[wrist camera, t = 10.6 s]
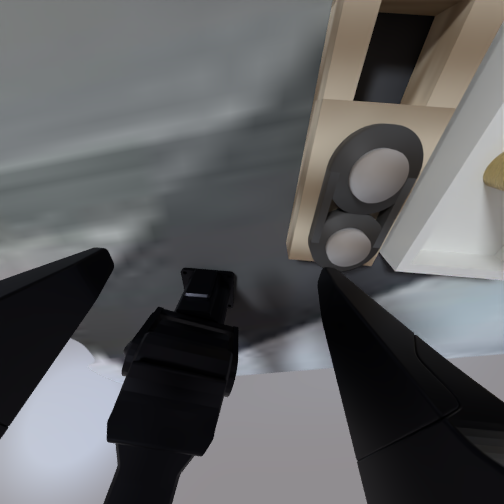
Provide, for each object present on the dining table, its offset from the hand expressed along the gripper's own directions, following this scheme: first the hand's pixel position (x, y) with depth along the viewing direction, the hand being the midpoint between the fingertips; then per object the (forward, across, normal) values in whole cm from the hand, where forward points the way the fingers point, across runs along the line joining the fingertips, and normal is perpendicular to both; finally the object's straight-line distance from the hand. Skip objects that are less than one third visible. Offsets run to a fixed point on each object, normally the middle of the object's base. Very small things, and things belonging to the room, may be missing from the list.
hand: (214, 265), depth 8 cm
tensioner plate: (+12, -9, -3) cm, 15 cm away
